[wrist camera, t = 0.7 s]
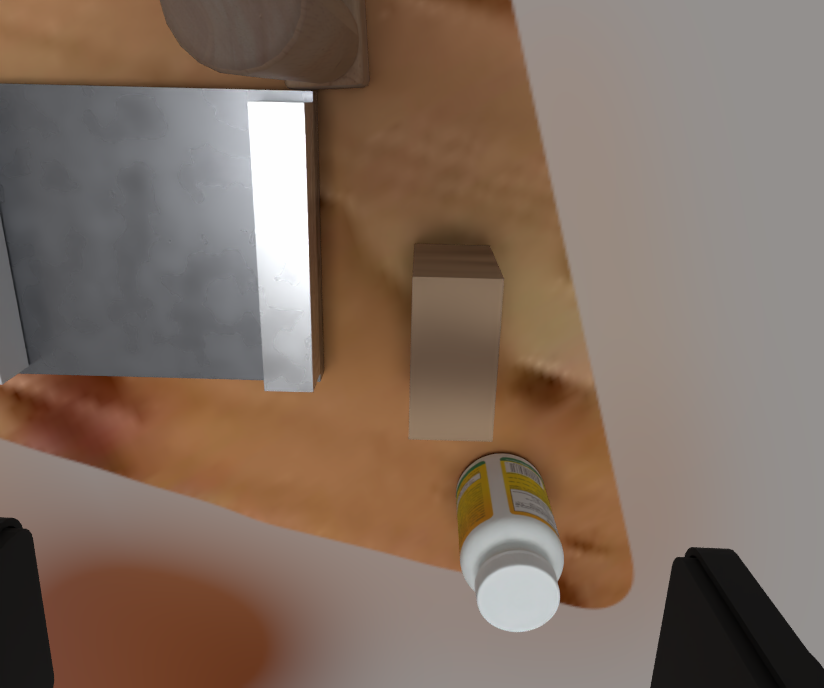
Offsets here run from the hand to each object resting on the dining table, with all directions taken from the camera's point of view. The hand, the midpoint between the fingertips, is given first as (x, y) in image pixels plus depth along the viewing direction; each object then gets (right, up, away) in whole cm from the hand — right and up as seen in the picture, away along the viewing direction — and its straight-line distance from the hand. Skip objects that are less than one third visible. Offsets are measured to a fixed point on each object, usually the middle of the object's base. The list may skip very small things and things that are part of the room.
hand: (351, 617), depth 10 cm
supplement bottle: (+6, -5, +31) cm, 32 cm away
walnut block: (+3, +6, +28) cm, 28 cm away
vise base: (-14, +10, +26) cm, 31 cm away
